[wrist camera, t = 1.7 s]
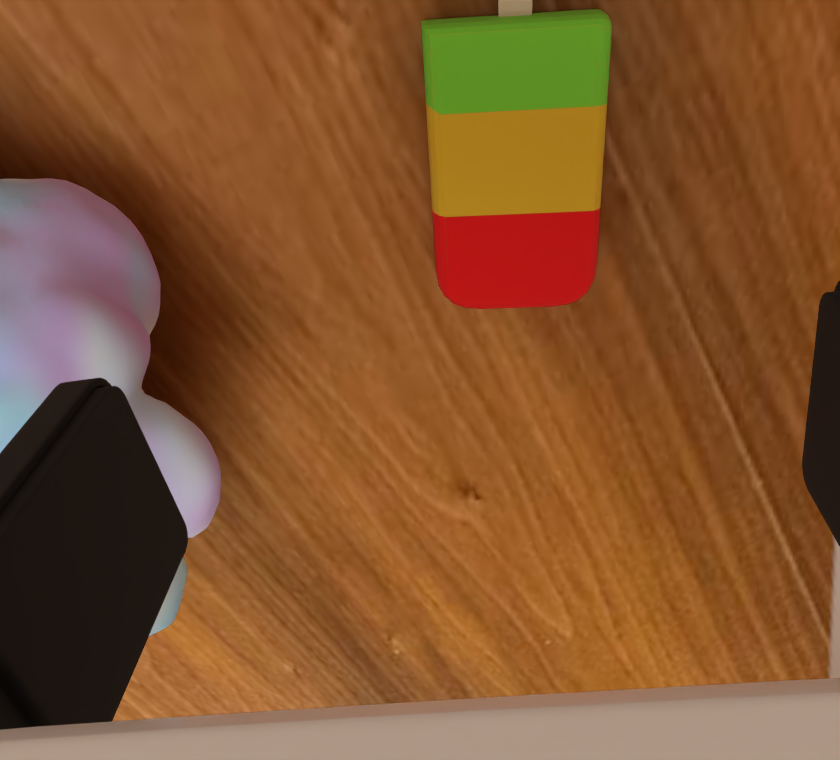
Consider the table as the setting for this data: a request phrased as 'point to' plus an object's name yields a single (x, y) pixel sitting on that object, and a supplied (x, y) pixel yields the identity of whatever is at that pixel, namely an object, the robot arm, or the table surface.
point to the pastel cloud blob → (91, 332)
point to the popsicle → (516, 152)
